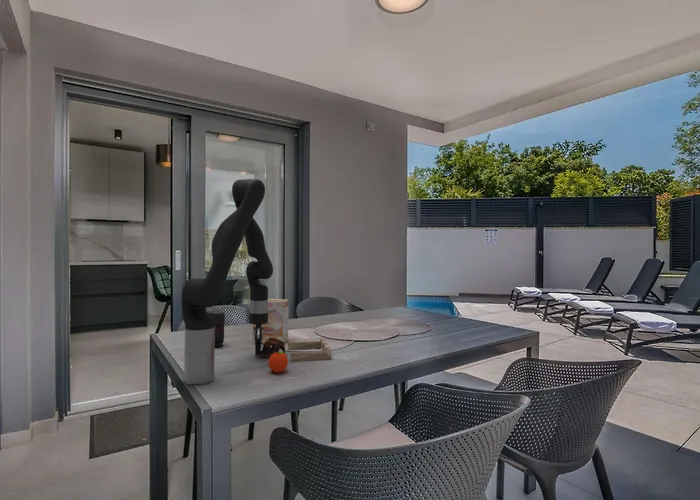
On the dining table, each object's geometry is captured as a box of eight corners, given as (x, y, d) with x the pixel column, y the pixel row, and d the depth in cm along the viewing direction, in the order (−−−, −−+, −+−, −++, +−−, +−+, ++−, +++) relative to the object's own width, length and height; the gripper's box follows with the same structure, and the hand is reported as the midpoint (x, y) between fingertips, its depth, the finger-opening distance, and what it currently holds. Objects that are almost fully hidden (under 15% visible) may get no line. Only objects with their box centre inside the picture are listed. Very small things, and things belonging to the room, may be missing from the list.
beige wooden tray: (330, 359, 152) (331, 349, 152) (291, 361, 149) (291, 351, 149) (323, 347, 170) (323, 338, 170) (287, 349, 166) (288, 339, 166)
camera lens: (218, 349, 164) (218, 314, 164) (201, 348, 166) (201, 313, 166) (228, 344, 172) (228, 311, 172) (211, 343, 174) (211, 310, 174)
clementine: (281, 366, 142) (281, 347, 142) (294, 370, 138) (294, 351, 138) (263, 372, 136) (264, 351, 136) (276, 376, 132) (277, 355, 131)
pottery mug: (255, 355, 157) (263, 336, 161) (276, 364, 160) (284, 344, 164) (264, 355, 147) (272, 334, 150) (286, 364, 150) (293, 343, 154)
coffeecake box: (252, 342, 178) (252, 299, 177) (259, 338, 184) (259, 297, 184) (282, 344, 174) (283, 301, 174) (288, 340, 181) (289, 299, 181)
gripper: (268, 313, 149) (268, 358, 149) (267, 308, 162) (267, 349, 162) (248, 314, 147) (247, 359, 147) (249, 308, 160) (248, 350, 160)
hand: (258, 354), depth 155 cm, fingers closed
